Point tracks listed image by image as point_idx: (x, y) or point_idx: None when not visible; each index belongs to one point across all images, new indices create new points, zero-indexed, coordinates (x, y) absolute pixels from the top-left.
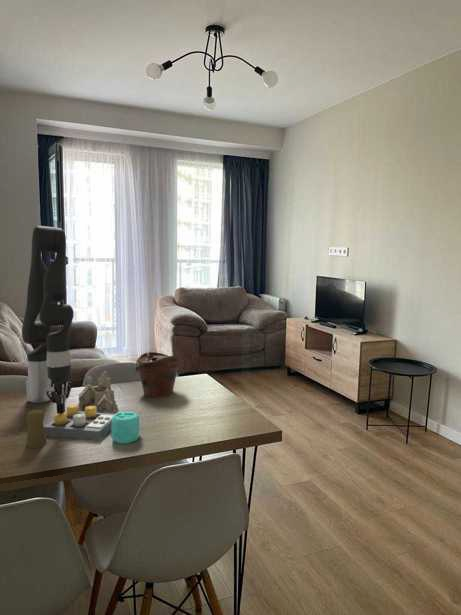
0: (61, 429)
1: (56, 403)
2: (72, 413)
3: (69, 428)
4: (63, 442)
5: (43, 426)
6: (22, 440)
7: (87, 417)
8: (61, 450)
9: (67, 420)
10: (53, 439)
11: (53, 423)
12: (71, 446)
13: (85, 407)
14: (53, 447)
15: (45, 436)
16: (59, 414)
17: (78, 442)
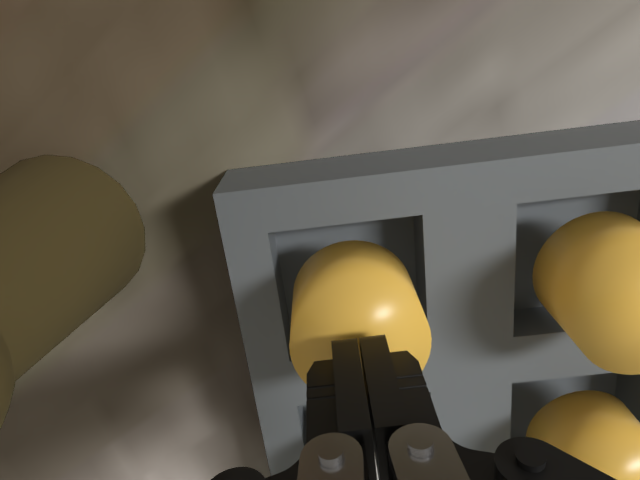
0: (249, 362)
1: (298, 465)
2: (551, 315)
3: (270, 425)
4: (181, 389)
5: (41, 357)
6: (57, 60)
7: (526, 435)
8: (76, 446)
9: (434, 307)
10: (194, 296)
11: (334, 222)
12: (153, 464)
13: (625, 454)
14: (84, 379)
15: (100, 307)
16: None
17: (223, 468)
